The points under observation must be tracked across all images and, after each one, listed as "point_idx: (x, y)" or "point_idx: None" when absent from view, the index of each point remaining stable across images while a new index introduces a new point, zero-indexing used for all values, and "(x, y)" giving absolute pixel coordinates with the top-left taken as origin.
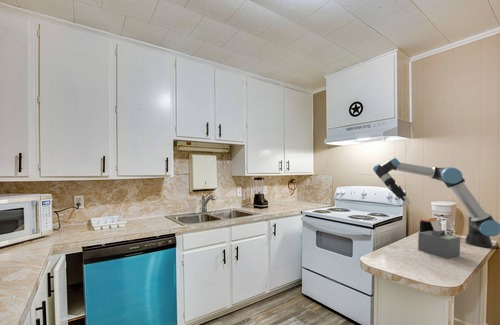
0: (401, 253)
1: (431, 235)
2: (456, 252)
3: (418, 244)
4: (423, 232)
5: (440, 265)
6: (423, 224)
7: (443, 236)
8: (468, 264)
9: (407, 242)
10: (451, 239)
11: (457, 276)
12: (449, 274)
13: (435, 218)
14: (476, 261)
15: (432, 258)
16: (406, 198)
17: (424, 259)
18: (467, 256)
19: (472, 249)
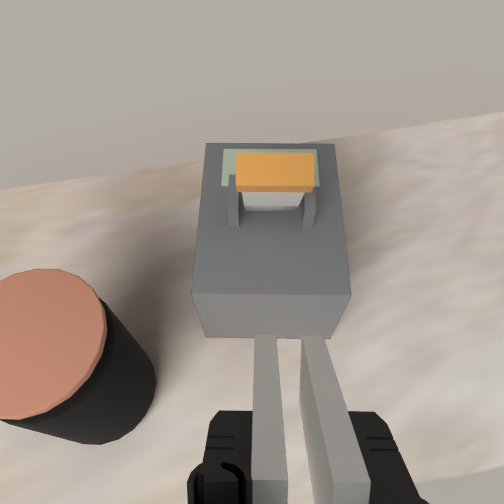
0: (499, 343)
1: (334, 222)
2: None
3: (335, 326)
4: (304, 283)
5: (441, 190)
6: (114, 360)
7: None
8: None
9: None
10: (304, 144)
11: (480, 129)
12: (493, 144)
13: (259, 154)
14: None
15: (390, 240)
16: (280, 412)
17: (446, 247)
18: (187, 193)
19: (20, 225)
